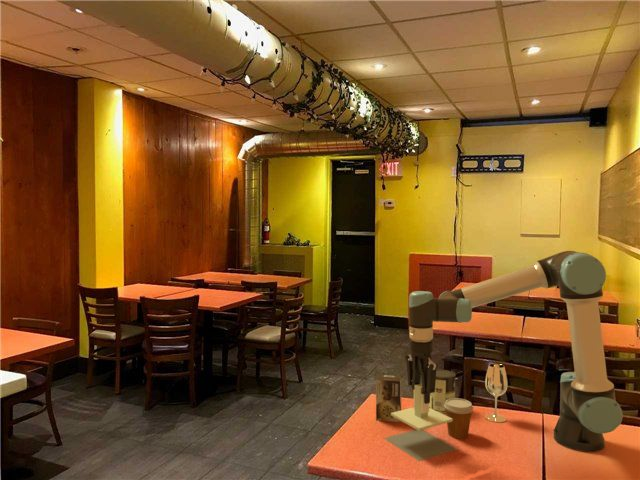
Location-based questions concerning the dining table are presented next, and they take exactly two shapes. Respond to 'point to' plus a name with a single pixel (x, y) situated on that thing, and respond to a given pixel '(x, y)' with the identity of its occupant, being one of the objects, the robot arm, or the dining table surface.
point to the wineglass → (496, 388)
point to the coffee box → (388, 397)
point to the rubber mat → (420, 444)
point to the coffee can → (442, 390)
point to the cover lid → (419, 419)
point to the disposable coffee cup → (458, 417)
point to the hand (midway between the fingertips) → (421, 410)
